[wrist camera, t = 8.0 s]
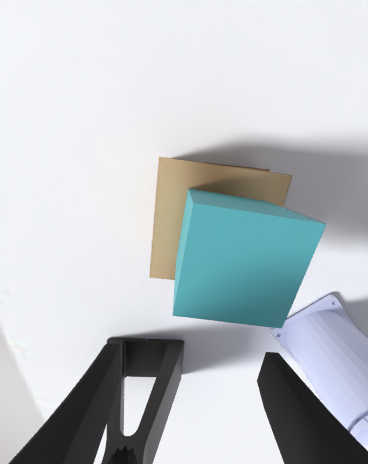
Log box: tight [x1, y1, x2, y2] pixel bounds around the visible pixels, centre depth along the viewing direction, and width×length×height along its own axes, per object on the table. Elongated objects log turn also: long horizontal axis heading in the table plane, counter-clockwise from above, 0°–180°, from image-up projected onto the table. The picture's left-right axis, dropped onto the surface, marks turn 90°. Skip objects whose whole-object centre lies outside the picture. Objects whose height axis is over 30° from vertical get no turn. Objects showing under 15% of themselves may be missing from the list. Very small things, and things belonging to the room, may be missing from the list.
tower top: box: [150, 157, 292, 280], centre depth 14 cm, size 8×8×3 cm
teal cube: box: [173, 188, 326, 329], centre depth 10 cm, size 5×5×5 cm
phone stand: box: [101, 338, 184, 464], centre depth 18 cm, size 9×6×12 cm, turn 86°
